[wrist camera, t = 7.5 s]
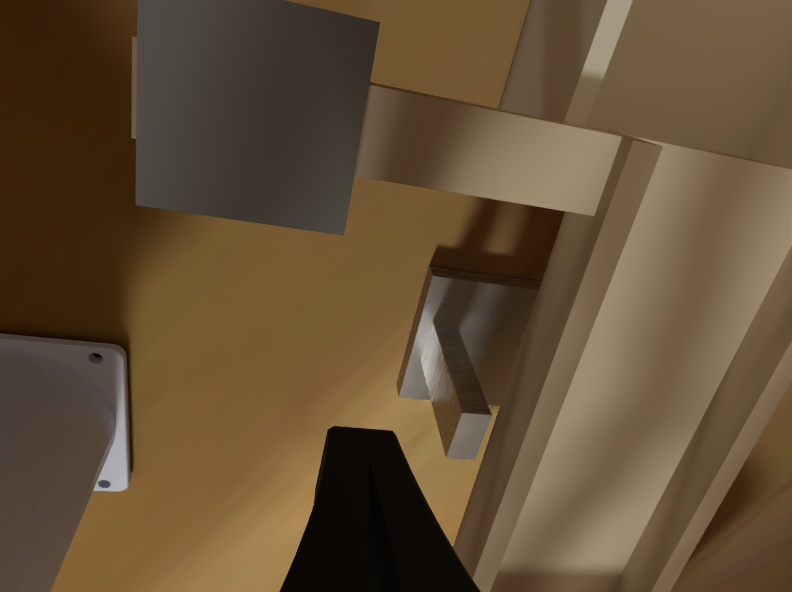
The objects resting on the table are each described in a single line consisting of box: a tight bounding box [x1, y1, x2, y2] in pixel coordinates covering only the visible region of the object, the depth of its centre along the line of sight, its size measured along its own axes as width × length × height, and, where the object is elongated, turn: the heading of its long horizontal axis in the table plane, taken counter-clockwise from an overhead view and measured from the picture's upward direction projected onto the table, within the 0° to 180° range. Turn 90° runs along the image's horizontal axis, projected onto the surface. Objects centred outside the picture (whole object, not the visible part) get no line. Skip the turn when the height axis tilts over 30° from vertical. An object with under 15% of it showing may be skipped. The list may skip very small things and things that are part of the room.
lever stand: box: [397, 266, 542, 459], centre depth 21 cm, size 12×6×6 cm, turn 78°
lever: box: [131, 0, 792, 592], centre depth 17 cm, size 19×21×3 cm
